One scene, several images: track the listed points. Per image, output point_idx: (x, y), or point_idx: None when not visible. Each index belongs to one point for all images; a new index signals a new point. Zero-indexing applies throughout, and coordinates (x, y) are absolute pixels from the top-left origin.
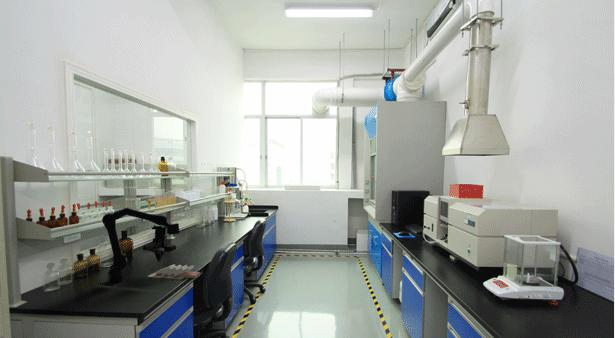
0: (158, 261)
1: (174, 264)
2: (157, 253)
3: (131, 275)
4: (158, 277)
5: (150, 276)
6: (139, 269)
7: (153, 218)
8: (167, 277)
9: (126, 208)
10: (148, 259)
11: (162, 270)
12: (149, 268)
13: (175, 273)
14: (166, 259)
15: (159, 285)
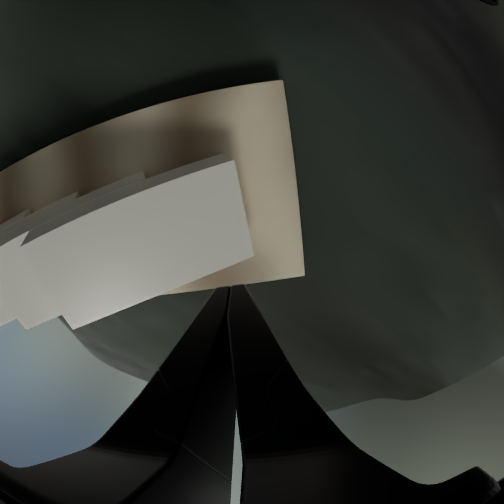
0: (224, 289)
1: (69, 321)
2: (247, 460)
3: (477, 119)
4: (123, 116)
5: (237, 92)
6: (488, 239)
7: None
8: (51, 162)
9: None
10: (490, 347)
11: (117, 196)
12: (439, 278)
13: (11, 223)
14: (411, 385)
15: (18, 50)
